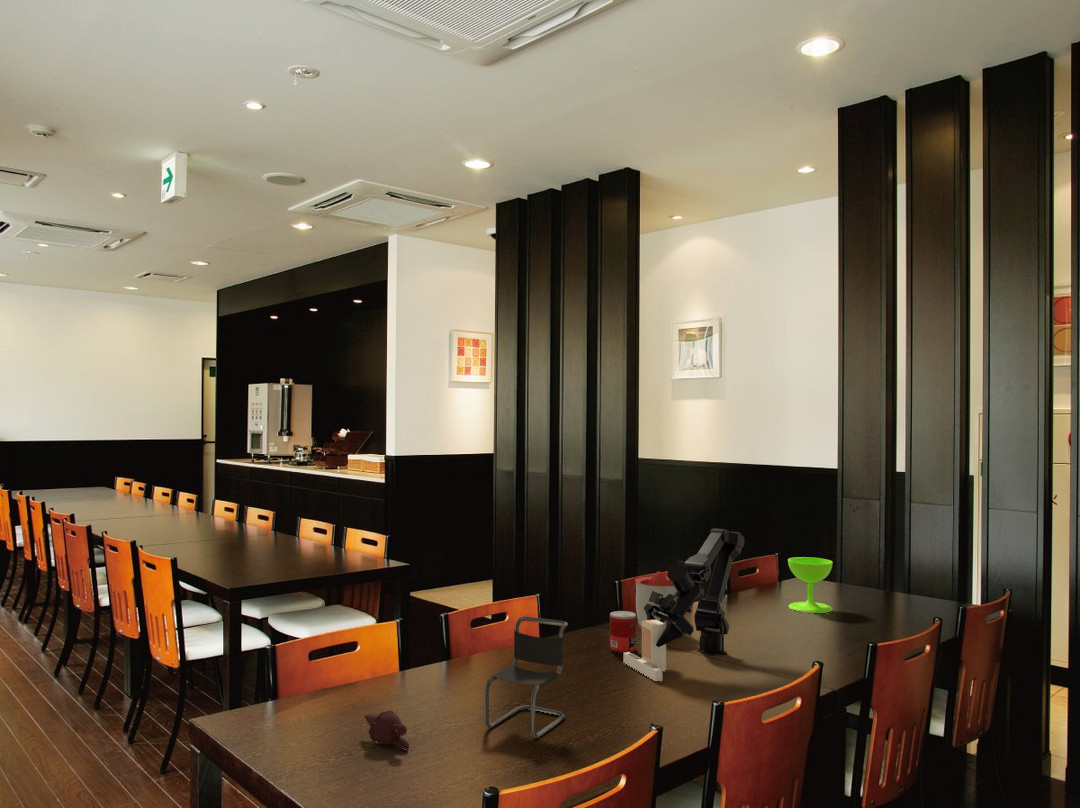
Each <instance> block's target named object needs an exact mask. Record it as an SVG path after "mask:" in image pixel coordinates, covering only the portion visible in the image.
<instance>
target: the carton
mask: <svg viewBox="0 0 1080 808" xmlns="http://www.w3.org/2000/svg"><path fill="white" fill-rule="evenodd" d="M665 629H666V624H665V623H663V622H660V621H658V620H646V621H642V631H641V637H642V638H641V658H642V659H643V660H645V661H647V662H649V663H651V664H653V665H655V666H657V667H658V668H660V669H662V671H663V672H666V671H667V644H665V645H662V646H660V647H657V646H656V643H657V641H658V640H659V638H660V636H661V635H662V633H663V632H664V630H665ZM665 670H666V671H665Z"/></svg>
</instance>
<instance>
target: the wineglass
mask: <svg viewBox="0 0 1080 808" xmlns="http://www.w3.org/2000/svg"><path fill="white" fill-rule="evenodd" d="M787 563H788V566H789V570H790V572H791V573H792V574H793V575H794V576H795V578H797V579H798V580H800V581H803V582H805V583H807V599H806V601H795V602H791V603H790V604H789V605H788V606H787V607H789V608H790V609H793V610H796V611H801V612H810V613H825V612H830V611H832V610H833V611H834V609H833V608H832V606H830V605H827V604H825V603H820V602H815V600H814V585H813V584H814V583H817V582H818V583H819V582H821V581H823V580H824V579H826V578H827V577H828V576H829V574H831V571H832V568H833V561H832V560H830V559H825V558H821V557H810V556H809V557H806V556H802V557H798V556H797V557H789V558H788V559H787ZM789 608H788V609H789ZM790 609H789V610H790ZM793 610H792V611H793ZM796 611H795V612H796ZM801 612H800V613H801Z"/></svg>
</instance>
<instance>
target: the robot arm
mask: <svg viewBox="0 0 1080 808" xmlns="http://www.w3.org/2000/svg"><path fill="white" fill-rule="evenodd" d="M744 546H745V537H744V535H742V533H741V532H739V531H729V530H727V529H724V528H711V529H710V531H709V535H708V536H707V538H706V540H705V541H704V543H703V544H702V545H701V547H700V549H699V550H698V552H697V553H696V554H695V555H692V556H689V557H688V558H687V559H686V560H685V561H683V560H681V561H680V560H678V561H677V564H674V565H672V566H671V567H670V568H669V569H668V570H667V573H666V574H667V576H666V577H668V578H669V580H670V581H671V583H672V584H673V586H674V587H675V589H676V590H677V591H676V593H675V594H674V595H672V594H669V593H665V594H664V595H662V594H660V593H657V592H655V591H652V593H651V595H650V598H649V600H648V601H649V602H653V603H654V604H657V605H659V606H657V605H654V604H652V603H647V604H646V605H645V607H644V608H643V609H644V610H645V613H646V615H647V620H658V621H660V622H663V623H664V622H665V621H666V629H665V630H664V632H663V633H662V635H661V636H660V638H659V640H658V641H657V643H656V646H657V647H660V646H662V645H665V644H666V645H667V644H669V643H670V642H672V641H675V640H678V639H680V638H685V636H687V637H689V638H690V637H691V636H692V635H693V633H695V632H694V629H695V631H697V632H700V636H699V648H698V647H697V651H698V650H699V652H700V651H702V652H701V653H703V652H704V653H703V654H705V653H706V654H705V655H707V654H708V655H707V656H710V655H711V656H715V655H714V654H719V655H723V654H724V653H727V654H728V651H726V650H725V635H729V630H730V624H729V622H728V621H727V618H726V617H725V616H726V611H725V609H724V605H723V600H724V596H725V594H726V589H727V584H728V581H729V577H730V573H731V569H732V565H733V562H734V560H735V559H737V557H739V556H740V554H741V552H742V550H743V547H744ZM715 559H716V561H715V563H714V560H715ZM712 563H714V568H713V571H712V568H711V565H712ZM711 574H712V575H711ZM710 578H711V579H710ZM709 579H710V582H709V587H708V591H707V594H706V597H704V596H705V591H704V587H702V586H701V585H699V583H707V582H708V581H709ZM699 597H700V599H699ZM697 599H698V602H697V606H696V609H695V612H694V616H693V617H694V618H693V619H694V626H695V628H694V626H693V625H692V623H691V622H690V621H689V619H687V618H686V617H685V615H686V614H687V613H688V614H690V613H691V612H692V611H693V610H692V609H691V607H692V606H693V604H694V603H695V602H696V601H697ZM641 639H642V636H641ZM724 655H725V654H724Z"/></svg>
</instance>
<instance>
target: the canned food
mask: <svg viewBox="0 0 1080 808" xmlns="http://www.w3.org/2000/svg"><path fill="white" fill-rule="evenodd" d="M609 649H610V651H611V650H612V651H611V652H613V651H615V652H614V653H616V652H621V653H620V654H624V653H626V652H633V653H634V651H636V649H637V613H635V612H632V611H627V610H617V611H612V612H610V614H609Z"/></svg>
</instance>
